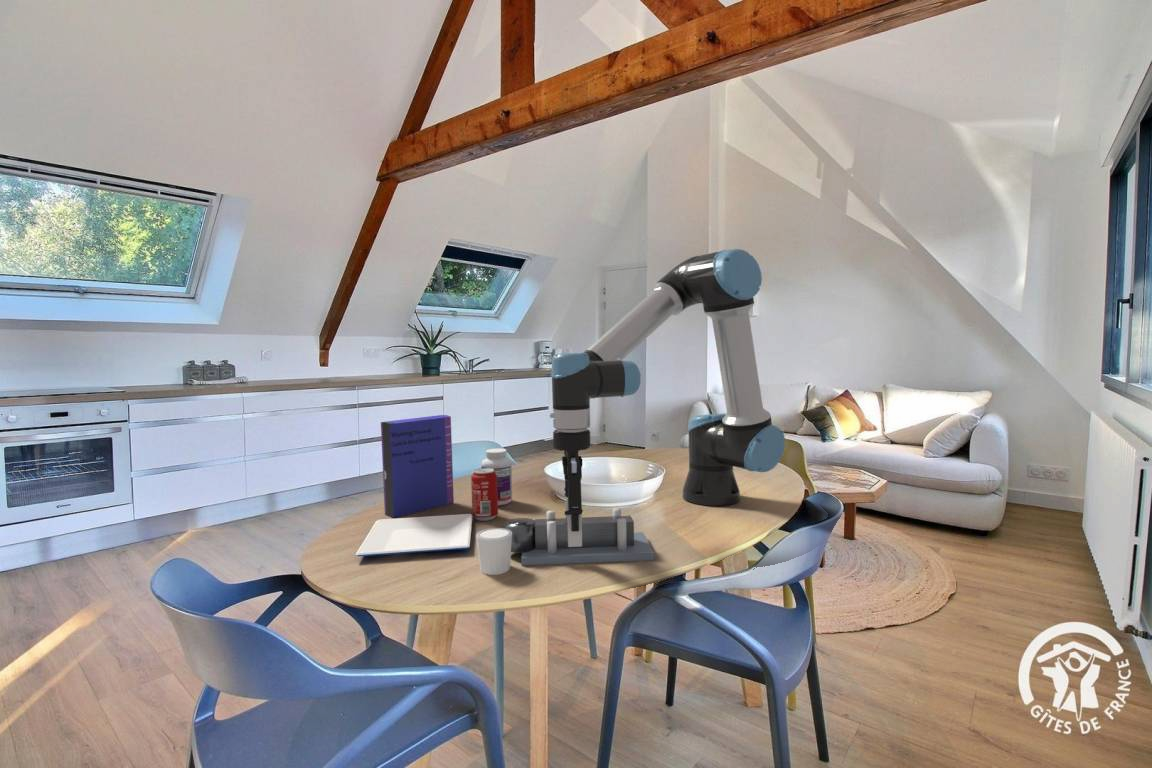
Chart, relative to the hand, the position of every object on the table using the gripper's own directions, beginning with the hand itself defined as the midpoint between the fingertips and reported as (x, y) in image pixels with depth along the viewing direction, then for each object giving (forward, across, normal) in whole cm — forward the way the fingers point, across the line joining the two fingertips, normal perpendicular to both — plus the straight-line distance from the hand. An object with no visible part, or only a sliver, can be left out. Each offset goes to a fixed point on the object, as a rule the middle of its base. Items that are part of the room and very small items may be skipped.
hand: (573, 536), depth 115 cm
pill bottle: (+3, -38, -18) cm, 42 cm away
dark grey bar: (+2, 0, -1) cm, 2 cm away
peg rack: (+3, 0, +2) cm, 4 cm away
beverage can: (+3, -25, -20) cm, 33 cm away
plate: (+4, -11, -34) cm, 35 cm away
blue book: (+3, -35, -38) cm, 52 cm away
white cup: (+3, +7, -16) cm, 17 cm away
